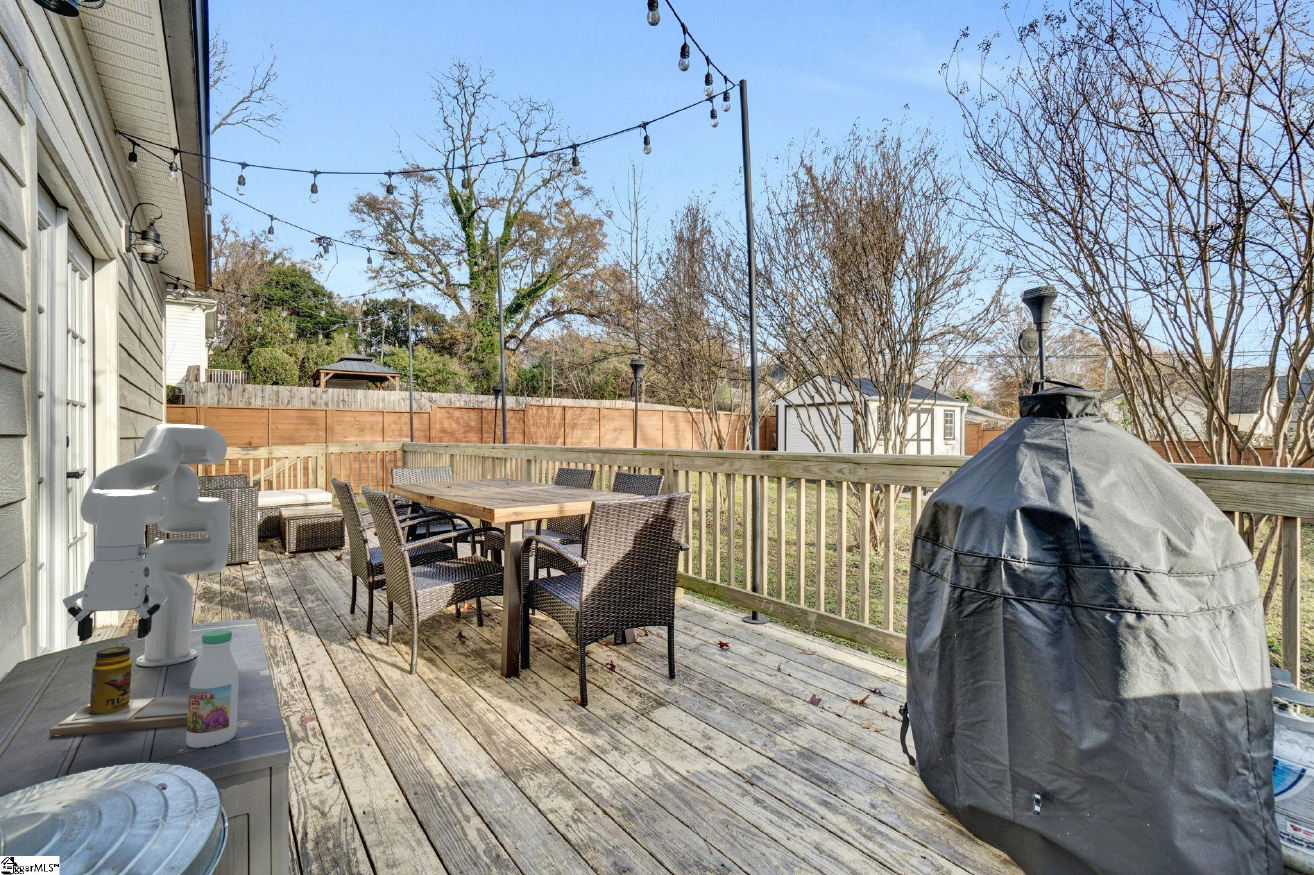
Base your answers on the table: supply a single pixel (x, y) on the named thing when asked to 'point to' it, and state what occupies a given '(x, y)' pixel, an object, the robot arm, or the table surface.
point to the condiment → (109, 684)
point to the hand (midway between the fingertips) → (114, 637)
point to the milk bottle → (213, 693)
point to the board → (130, 717)
